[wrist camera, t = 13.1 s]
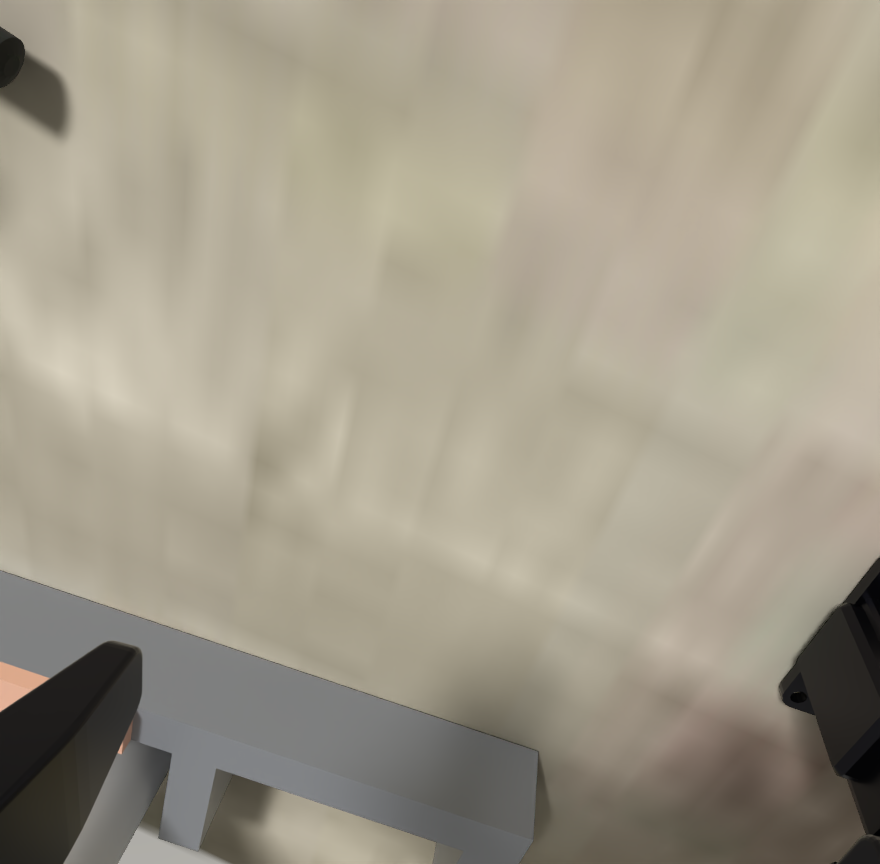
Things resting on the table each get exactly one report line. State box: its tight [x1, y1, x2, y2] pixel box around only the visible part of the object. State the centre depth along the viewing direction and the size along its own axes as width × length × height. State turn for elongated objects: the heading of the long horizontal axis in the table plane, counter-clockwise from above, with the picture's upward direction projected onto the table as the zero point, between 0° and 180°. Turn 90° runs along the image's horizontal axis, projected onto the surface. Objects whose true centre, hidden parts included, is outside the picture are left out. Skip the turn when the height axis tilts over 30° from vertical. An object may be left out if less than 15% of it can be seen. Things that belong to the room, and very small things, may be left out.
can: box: [63, 740, 172, 864], centre depth 26 cm, size 8×8×12 cm
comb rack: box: [0, 571, 538, 864], centre depth 28 cm, size 23×7×4 cm, turn 74°
